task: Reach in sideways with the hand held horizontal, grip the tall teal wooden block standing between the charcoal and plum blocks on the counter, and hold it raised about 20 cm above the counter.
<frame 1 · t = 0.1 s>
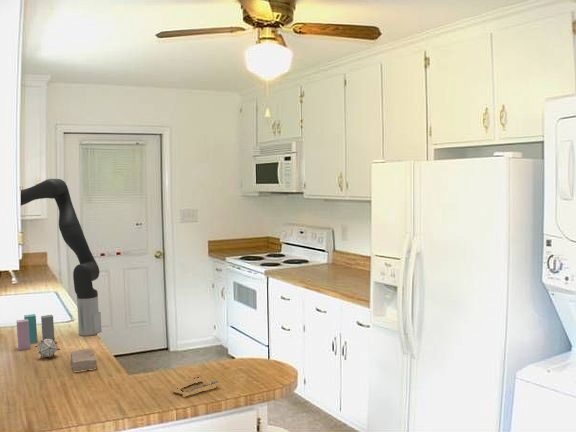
hand: (1, 272, 277), 29 cm above the counter, tool pointing down, fingers open, 8 cm apart
teal block: (31, 342, 258), on the counter
game die: (48, 358, 233), on the counter
brick: (84, 366, 220), on the counter
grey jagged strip: (193, 391, 189), on the counter
plum block: (24, 348, 248), on the counter
charcoal block: (48, 343, 255), on the counter
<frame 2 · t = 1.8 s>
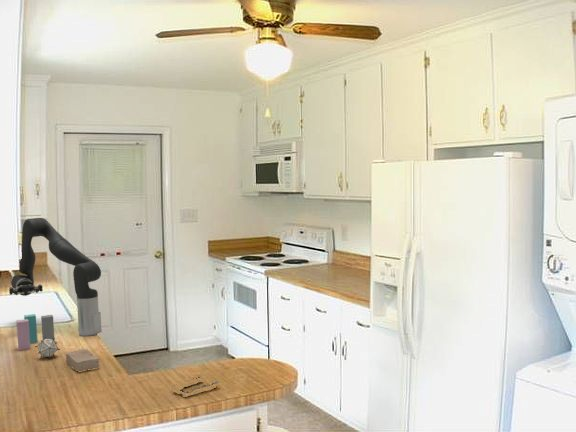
hand: (26, 291, 267), 21 cm above the counter, tool horizontal, fingers open, 8 cm apart
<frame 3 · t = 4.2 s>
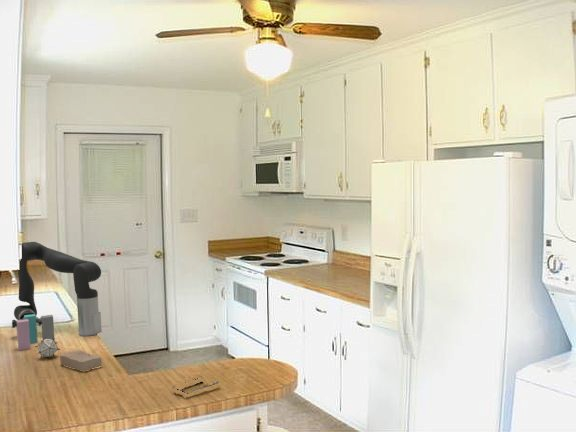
hand: (29, 324, 263), 7 cm above the counter, tool horizontal, fingers open, 8 cm apart
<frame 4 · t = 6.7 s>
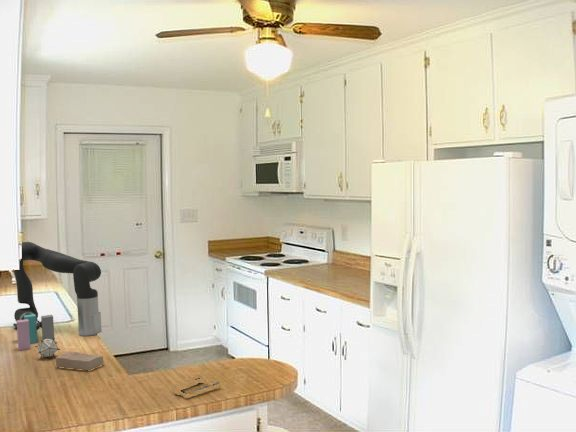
hand: (31, 328, 255), 7 cm above the counter, tool horizontal, fingers closed on teal block, 4 cm apart
teal block: (31, 342, 258), on the counter, touching gripper
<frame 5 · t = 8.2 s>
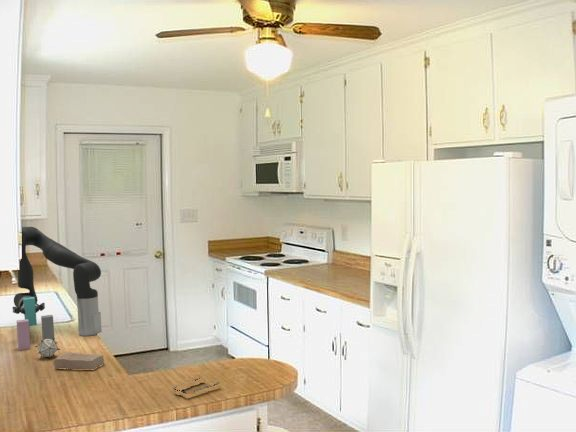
hand: (30, 311, 255), 15 cm above the counter, tool horizontal, fingers closed on teal block, 4 cm apart
teal block: (30, 324, 257), point 8 cm above the counter, touching gripper
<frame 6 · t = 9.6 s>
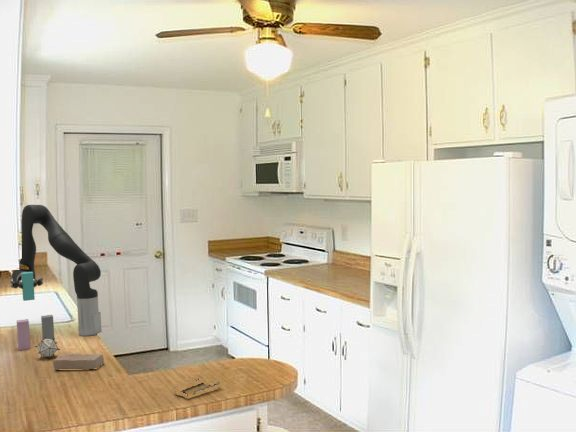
hand: (28, 285, 254), 26 cm above the counter, tool horizontal, fingers closed on teal block, 4 cm apart
teal block: (28, 299, 257), point 19 cm above the counter, touching gripper
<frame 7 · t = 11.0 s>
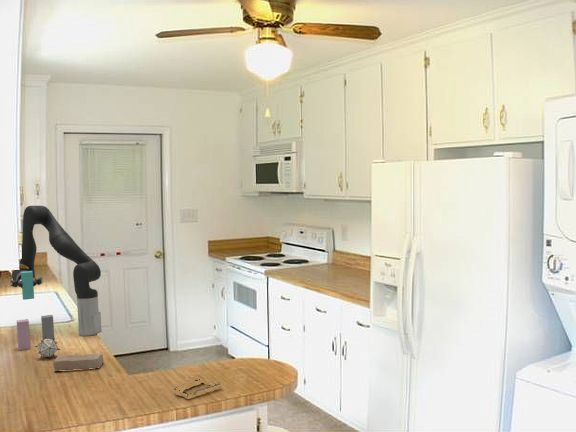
hand: (28, 284, 257), 26 cm above the counter, tool horizontal, fingers closed on teal block, 4 cm apart
teal block: (28, 298, 260), point 19 cm above the counter, touching gripper
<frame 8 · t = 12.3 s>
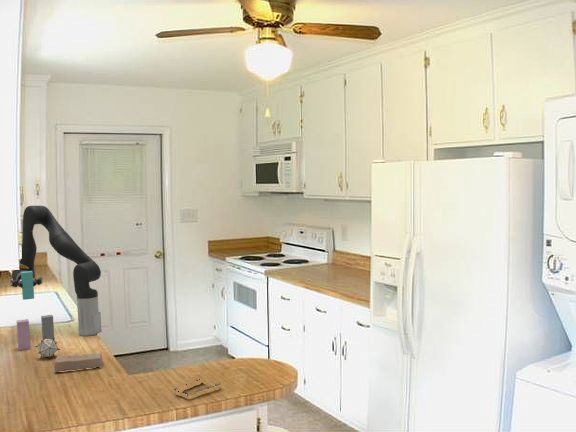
hand: (28, 284, 257), 26 cm above the counter, tool horizontal, fingers closed on teal block, 4 cm apart
teal block: (28, 298, 260), point 19 cm above the counter, touching gripper
at the end: the gripper is holding teal block; teal block point 19.3 cm above the counter; charcoal block moved 0.0 cm from its start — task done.
